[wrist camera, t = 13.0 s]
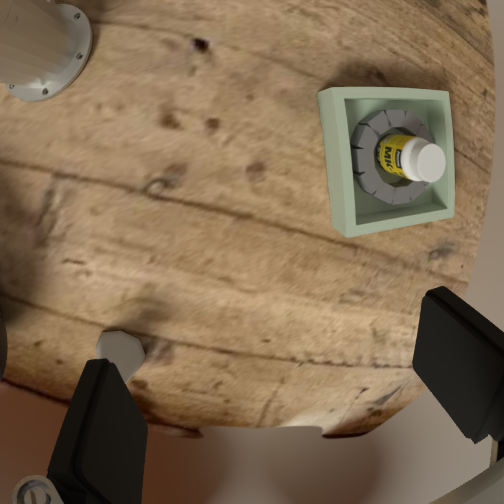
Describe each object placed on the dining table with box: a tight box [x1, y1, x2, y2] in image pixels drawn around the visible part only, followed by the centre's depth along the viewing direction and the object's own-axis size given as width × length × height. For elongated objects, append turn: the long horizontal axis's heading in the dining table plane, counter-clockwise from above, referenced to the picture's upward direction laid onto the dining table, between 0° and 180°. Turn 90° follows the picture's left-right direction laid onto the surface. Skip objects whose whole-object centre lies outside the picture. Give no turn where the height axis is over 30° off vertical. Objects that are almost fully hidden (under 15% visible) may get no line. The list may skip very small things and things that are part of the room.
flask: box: [96, 331, 146, 383], centre depth 36 cm, size 7×7×10 cm
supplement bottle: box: [374, 134, 446, 182], centre depth 31 cm, size 5×5×8 cm
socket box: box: [317, 87, 455, 238], centre depth 34 cm, size 16×16×4 cm
